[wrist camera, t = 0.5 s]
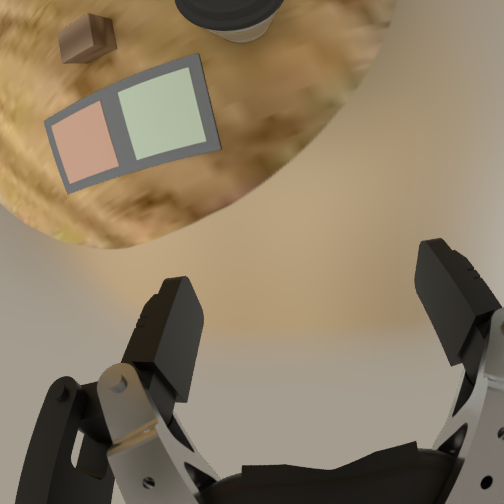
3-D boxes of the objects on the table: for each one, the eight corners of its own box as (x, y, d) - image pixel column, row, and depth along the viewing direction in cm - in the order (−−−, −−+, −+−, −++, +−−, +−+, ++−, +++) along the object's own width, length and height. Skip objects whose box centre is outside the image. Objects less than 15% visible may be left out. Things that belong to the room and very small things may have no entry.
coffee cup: (194, 41, 27) (147, 15, 14) (219, -18, 22) (190, -70, 10) (265, 59, 28) (264, 38, 16) (290, 0, 23) (305, -50, 11)
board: (45, 120, 32) (42, 121, 31) (199, 53, 28) (197, 53, 27) (69, 193, 38) (66, 194, 38) (221, 148, 35) (220, 149, 34)
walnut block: (82, 35, 25) (57, 32, 20) (111, 19, 24) (88, 13, 19) (88, 63, 28) (62, 63, 23) (117, 48, 27) (93, 45, 22)
